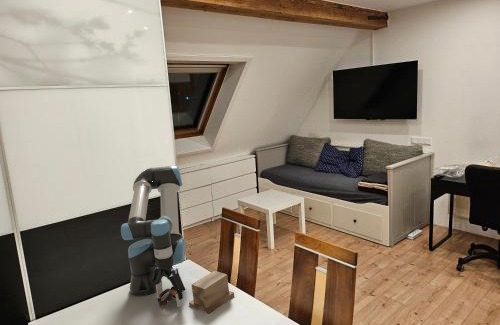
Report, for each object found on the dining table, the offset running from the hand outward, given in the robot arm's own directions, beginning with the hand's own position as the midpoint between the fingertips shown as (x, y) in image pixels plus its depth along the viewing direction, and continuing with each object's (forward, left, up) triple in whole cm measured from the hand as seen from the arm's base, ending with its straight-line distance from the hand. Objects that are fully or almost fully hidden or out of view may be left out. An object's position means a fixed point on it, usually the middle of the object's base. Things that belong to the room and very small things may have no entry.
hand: (170, 301), depth 154 cm
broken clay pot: (+1, 0, -1) cm, 2 cm away
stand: (+15, +11, -1) cm, 19 cm away
